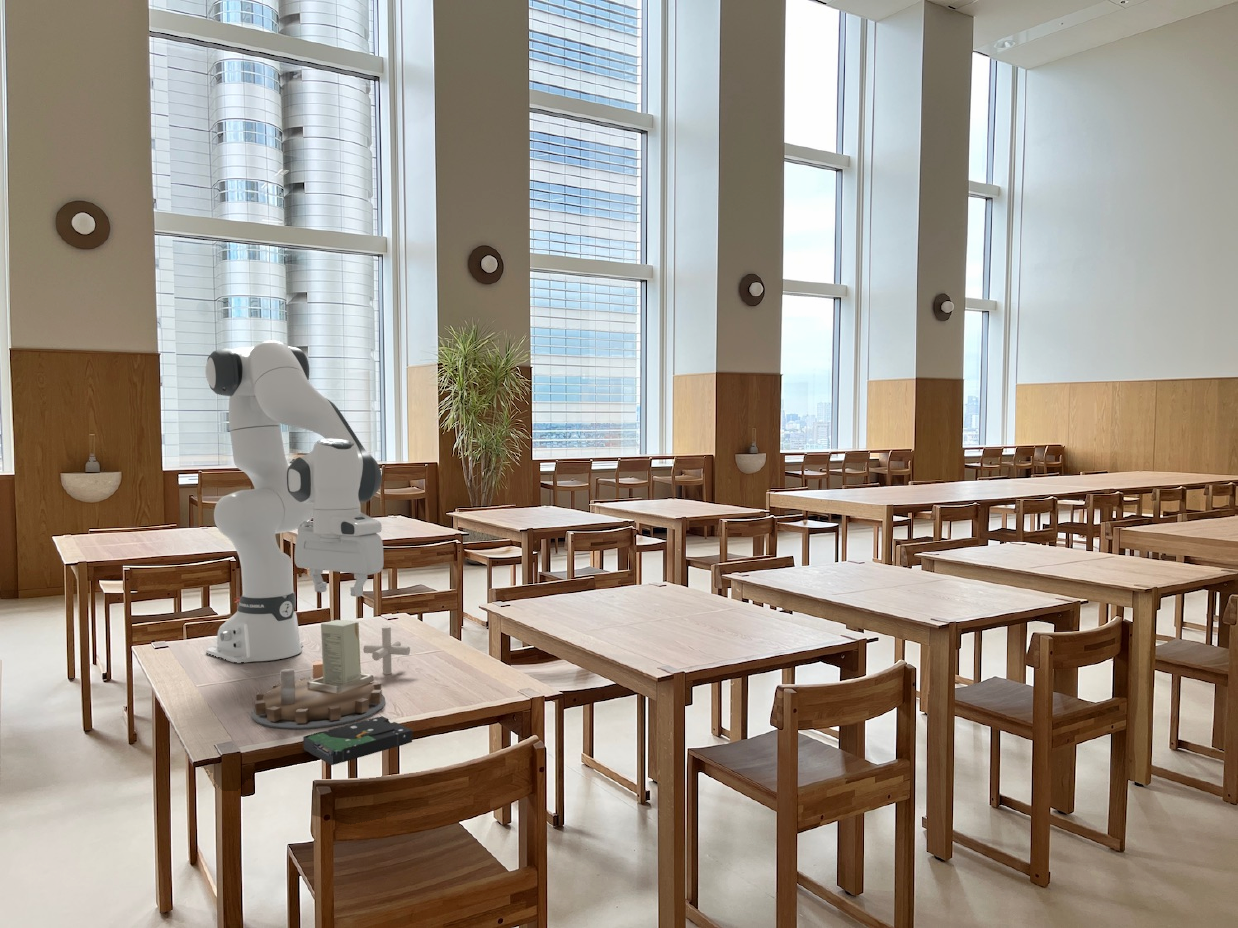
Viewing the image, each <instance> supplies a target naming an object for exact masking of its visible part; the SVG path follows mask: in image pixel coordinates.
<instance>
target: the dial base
mask: <svg viewBox="0 0 1238 928" xmlns="http://www.w3.org/2000/svg"><path fill="white" fill-rule="evenodd" d="M385 705H386V698H385V695H383V694H382V701H381V703H380V704H371V705H369V711H366V712H364V713H358V712H354V713H351V714H348V715H344V716H341V719H338V720H332V721H331V720H330V719H329V718H328V719H320V720H308V721H307V723H295V720H283V719H281V720H278V721H275V722H273V721H268V720H267V715H266V714H261V715H256V714H255V713H254V707H253V708H252V710H251V719H252V720H253V721H254V722H255V723H257V724H258V725H261V726H263V727H268V728H272V729H281V730H311V729H323V728H330V727H337V726H341V725H342V726H343V725H346V724H347V725H348V724H350V723H351V724H352V723H356V722H358V721H362V720H365V719H367V718H368V717H369V718H370V716H373V715H375V714H378V712H379V711H382V709H383V708H384V707H385Z"/></svg>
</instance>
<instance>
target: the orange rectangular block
mask: <svg viewBox="0 0 1238 928" xmlns="http://www.w3.org/2000/svg"><path fill="white" fill-rule="evenodd" d="M321 677H323V660H314V661H312V679H316V678H321Z"/></svg>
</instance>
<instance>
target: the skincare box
mask: <svg viewBox="0 0 1238 928" xmlns="http://www.w3.org/2000/svg"><path fill="white" fill-rule="evenodd" d="M320 630H321V631H320V632H321V655H322V657H321V658H322V661H323V682H324V684H328V685H334V686H341V685H344V684H347V683H350V682H353V681H355V680H358V679H361V673H362V671H361V669H362V668H361V649H360V648H361V647H360V625H359V622H358V621H351V620H350V621H349V620H341V619H335V620H331V621H325V622H323V623H320Z"/></svg>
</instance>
